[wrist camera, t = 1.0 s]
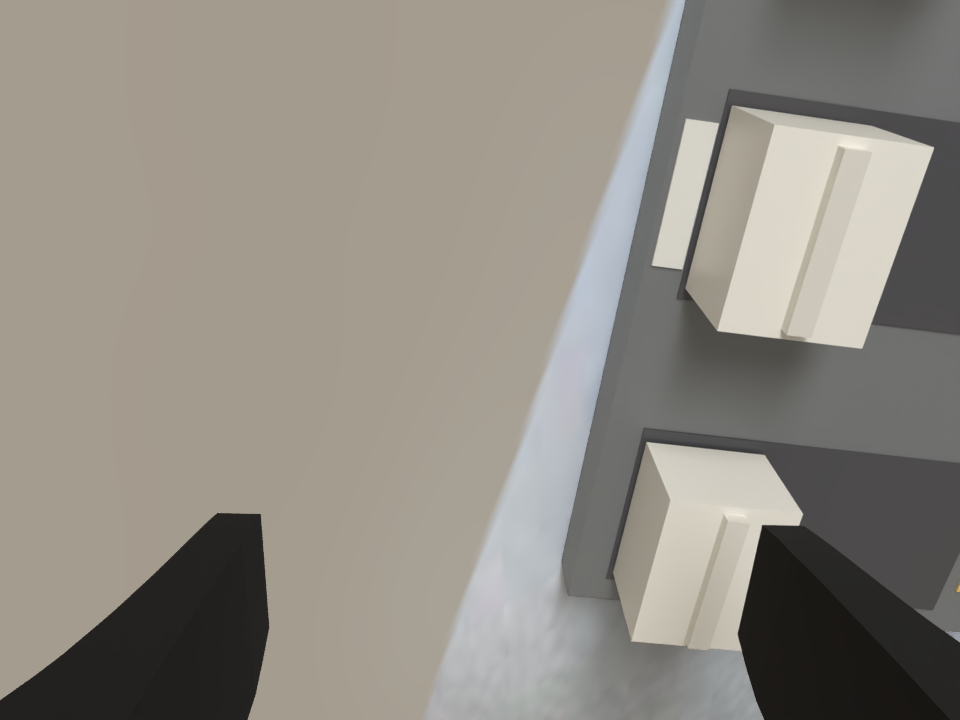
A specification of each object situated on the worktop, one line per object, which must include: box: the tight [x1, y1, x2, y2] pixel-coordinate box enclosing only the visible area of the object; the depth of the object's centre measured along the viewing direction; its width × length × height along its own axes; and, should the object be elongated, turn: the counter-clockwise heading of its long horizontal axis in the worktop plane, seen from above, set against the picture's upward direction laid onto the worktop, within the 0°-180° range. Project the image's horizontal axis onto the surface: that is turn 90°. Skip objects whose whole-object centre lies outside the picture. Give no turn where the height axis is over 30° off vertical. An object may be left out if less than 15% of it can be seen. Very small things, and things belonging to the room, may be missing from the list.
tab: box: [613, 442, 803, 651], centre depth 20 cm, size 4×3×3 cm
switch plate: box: [562, 0, 960, 632], centre depth 19 cm, size 22×12×2 cm, turn 172°
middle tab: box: [685, 106, 934, 349], centre depth 17 cm, size 4×3×3 cm
